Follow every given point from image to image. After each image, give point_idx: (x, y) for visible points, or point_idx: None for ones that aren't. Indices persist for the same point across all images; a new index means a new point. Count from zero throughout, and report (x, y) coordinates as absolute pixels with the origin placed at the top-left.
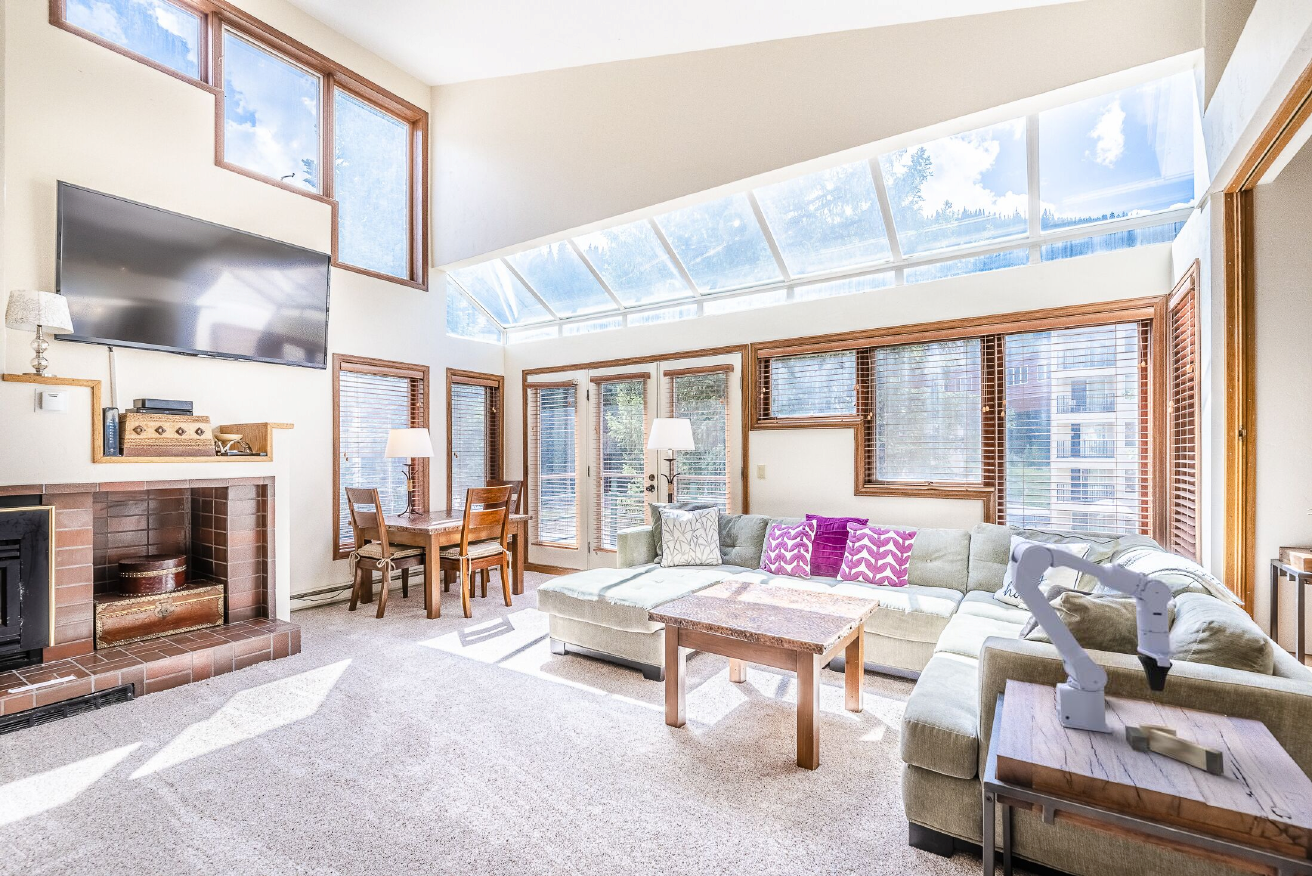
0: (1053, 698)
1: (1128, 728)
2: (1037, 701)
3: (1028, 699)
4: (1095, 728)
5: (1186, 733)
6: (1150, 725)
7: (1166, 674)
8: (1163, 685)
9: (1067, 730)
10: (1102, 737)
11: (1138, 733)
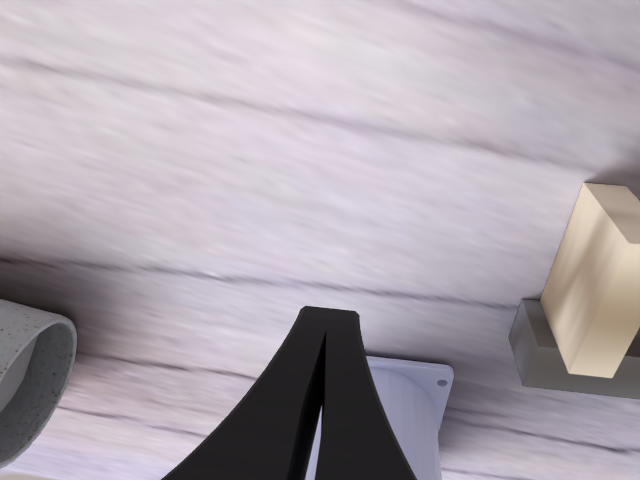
0: (94, 416)
1: (559, 385)
2: (167, 462)
3: (161, 477)
4: (435, 408)
5: (313, 29)
6: (602, 340)
7: (407, 464)
8: (363, 351)
9: (454, 464)
10: (500, 397)
11: (629, 372)
